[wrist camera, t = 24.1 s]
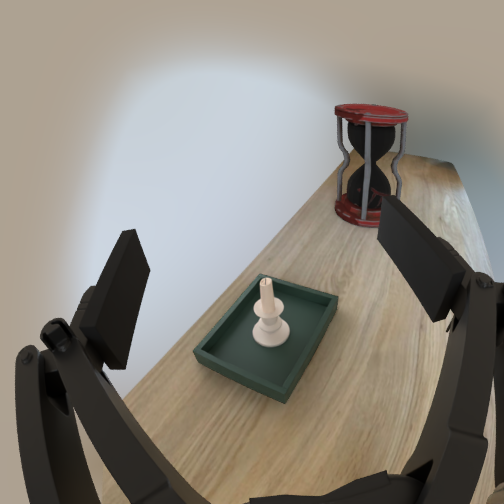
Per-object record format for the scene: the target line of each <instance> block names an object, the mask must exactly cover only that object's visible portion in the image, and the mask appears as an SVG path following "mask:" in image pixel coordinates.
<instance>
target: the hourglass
mask: <svg viewBox="0 0 504 504" xmlns="http://www.w3.org/2000/svg"><path fill="white" fill-rule="evenodd" d="M335 115H337V135H338V136H337V138H338V145H339V148H340V149H341V151H342V152H343V155H344V163H343V165H342V166H341V168H340V169H339V171H338V183H337V199H336V202H335V211H336V213H337V215H338V216H340V217H341V218H342V219H343V220H345V221H347V222H349V223H351V224H354V225H358V226H362V227H371V228H376V227H379V222H380V213H381V205H382V196H390V195H391V187H390V184H389V181H388V179H387V177H386V176H385V174H384V173H383V172H382V171H381V170H380V168H379V167H378V166H377V165H376V161H377V160H379V159H380V158H381V157H382V156H384V155H385V154H386V153H387V152H388V151H389V150H390V148H391V147H392V145H393V143H394V140H395V127H394V126H395V125H397V124H398V123H401V140H400V151H399V153H398V155H397V156H396V157H395V158H393V161H392V163H391V169H392V173H393V174H394V176H395V177H396V180H397V188H396V197H397V198H398V199H399V200H400V195H401V187H402V181H401V177H400V176H399V174H398V172H397V164H398V161H399V159H400V158H401V157H403V155H404V152H405V142H406V122H407V121H408V113H407V112H405V111H402V110H399V109H396V108H391V107H386V106H379V105H374V104H372V105H369V104H344V105H338V106H335ZM342 118H345V119H346V120H347V121H349V122H348V138H349V140H350V143H351V145H352V146H353V147H354V149H355V150H356V151H357V152H358V153H359V154H360V155H361V157H362V158H363V159H364V160H365V164H363V165H362V166H361V167H360V168H359V169H357V170H356V171H355V172H354V173H353V174H352V175H351V177H350V179H349V180H348V184H347V193H345V194H343V195H342V174H343V172H344V170H345V169H346V168H347V167H348V166H349V162H350V157H349V153H348V151H347V150H346V149H345V148H344V145H343V143H342V142H343V139H342Z"/></svg>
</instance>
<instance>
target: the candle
mask: <svg viewBox="0 0 504 504" xmlns="http://www.w3.org/2000/svg"><path fill="white" fill-rule="evenodd" d="M260 295H261V299H260V300H258V301H257V302H256V303H255V305H254V312H255V314H256V315H257V316H259V317H261V318H260V319H259V322H257V324H256V325H255V326H254V328H253V338H254V339H255V341H256V342H257V343H258V344H260V345H262V346H265V347H276V346H279V345H281V344H283V343H284V342H285V341H286V340H287V339H288V337H289V334H290V329H289V326H288V324H287V323H286V322H285V321H284V320H282V319H281V318H280V317H279V315H280V314H281V313H282V311H283V309H284V305H283V303H282V301H281V300H279V299H278V298H275V297H274V294H273V286H272V279H271V278H264V279H262V280H261V281H260Z"/></svg>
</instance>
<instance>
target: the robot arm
mask: <svg viewBox="0 0 504 504" xmlns="http://www.w3.org/2000/svg"><path fill="white" fill-rule="evenodd" d="M377 240H378V241H379V242H380V244H381V245H382V246H383V248H384V249H385V251H386V252H387V253H388V255H389V256H390V258H391V259H392V260H393V262H394V263H395V265H396V266H397V268H398V269H399V271H400V272H401V273H402V275H403V276H404V278H405V279H406V281H407V282H408V284H409V285H410V287H411V288H412V290H413V291H414V293H415V295H416V296H417V298H418V299H419V301H420V302H421V304H422V306H423V307H424V309H425V310H426V312H427V314H428V315H429V317H430V319H431V320H432V322H433V323H434V322H437V321H440V320H443V319H446V317H447V315H448V313H449V311H450V309H451V310H452V312H453V313H454V316H453V318H452V320H451V322H450V324H449V326H448V328H447V330H446V332H448V331H449V329H450V332H449V337H448V342H447V347H446V352H445V356H444V361H443V365H442V369H441V373H440V377H439V381H438V384H437V388H436V391H435V395H434V398H433V401H432V405H431V408H430V411H429V414H428V417H427V420H426V422H425V425H424V428H423V431H422V433H421V436H420V439H419V441H418V444H417V446H416V449H415V451H414V453H413V454H412V456H411V457H410V459H409V460H408V461H407V463H406V465H405V466H404V468H403V470H402V472H401V474H400V475H398V474H387V470H385V471H382V472H379V473H376V474H373V475H370V476H367V477H363V478H360V479H356V480H354V481H352V482H350V483H348V484H346V485H344V486H342V487H340V488H338V489H336V490H334V491H332V492H330V493H328V494H326V495H323V496H299V495H277V496H268V497H258V498H249V500H250V502H247V503H244V504H470V502H471V499H472V496H473V494H474V491H475V488H476V485H477V483H478V480H479V477H480V473H481V470H482V467H483V464H484V460H485V457H486V453H487V449H488V440H487V439H486V438H485V437H484V436H483V432H484V427H485V422H486V417H487V412H488V407H489V401H490V395H491V388H492V381H493V377H494V388H495V404H496V449H495V470H494V474H495V490H494V492H493V494H491V495H490V496H489V497H488V499H487V502H486V504H504V283H497V282H494V281H493V279H492V278H491V277H490V276H488V275H487V274H485V273H481V272H474V270H473V269H472V268H471V267H470V266H469V265H468V263H467V262H466V261H465V260H464V259H463V258H462V257H461V256H459V253H458V252H457V251H456V250H454V248H453V247H452V246H451V245H450V244H449V242H447V241H445V240H444V239H442V238H441V237H436V236H435V235H434V234H433V233H432V232H431V231H430V230H429V229H428V228H427V227H426V226H425V225H424V224H423V222H422V221H421V220H420V219H419V218H418V217H417V216H416V215H414V214H413V213H412V212H411V211H410V210H409V209H408V208H407V207H406V206H405V205H404V204H403V203H402V202H401V201H400V200H399V199H398V198H397V197H396V196H395V195H390V196H382V205H381V213H380V222H379V229H378V236H377ZM149 273H150V268H149V266H148V263H147V260H146V257H145V255H144V252H143V249H142V247H141V244H140V241H139V238H138V235H137V233H136V230H135V229H131V230H126V231H122V233H121V235H120V237H119V239H118V241H117V243H116V244H115V246H114V248H113V250H112V252H111V255H110V257H109V259H108V261H107V263H106V265H105V267H104V269H103V271H102V273H101V275H100V278H99V280H98V282H97V284H96V286H90V287H89V289H88V290H87V291H86V292H85V293H84V294H83V296H82V299H81V301H80V304H79V305H78V308H77V311H76V312H75V315H74V317H73V319H72V322H71V324H70V326H69V325H68V324H67V322H66V321H65V320H64V319H62V318H55V319H53V320H51V321H49V322H48V323H47V324H46V325H45V326H44V328H43V329H42V331H41V334H40V339H41V340H42V341H43V343H44V344H45V345H46V346H47V348H48V349H47V350H44V351H41V352H39V350H38V349H37V348H36V347H35V346H34V345H28V346H26V347H24V348H23V349H22V350H21V351H20V352H19V353H18V356H17V358H16V366H15V367H16V368H15V400H16V401H15V402H16V420H17V433H18V442H19V450H20V457H21V463H22V469H23V475H24V480H25V485H26V489H27V494H28V498H29V502H30V504H101V503H100V500H99V498H98V495H97V492H96V489H95V486H94V484H93V481H92V478H91V475H90V471H89V469H88V465H87V462H86V458H85V455H84V451H83V448H82V444H81V440H80V436H79V432H78V427H77V423H76V418H75V414H74V409H75V411H76V413H77V415H78V417H79V419H80V421H81V423H82V425H83V427H84V429H85V431H86V433H87V435H88V436H89V438H90V440H91V442H92V444H93V445H94V447H95V449H96V451H97V452H98V454H99V456H100V457H101V459H102V461H103V462H104V464H105V466H106V467H107V469H108V470H109V472H110V473H111V475H112V476H113V478H114V479H115V481H116V482H117V484H118V485H119V487H120V488H121V490H122V491H123V492H124V494H125V495H126V497H127V498H128V499H129V501H130V503H131V504H211V503H210V502H208V501H207V500H206V499H205V498H204V497H202V496H201V495H200V494H198V493H197V492H196V491H195V490H194V489H193V488H192V487H191V486H190V485H189V484H188V482H187V481H186V480H185V479H184V478H183V477H182V476H181V475H180V474H179V473H178V472H177V470H176V469H175V468H174V467H173V466H172V465H171V464H170V462H169V461H168V460H167V459H166V458H165V457H164V455H163V454H162V453H161V452H160V451H159V449H158V448H157V447H156V446H155V444H154V443H153V442H152V441H151V439H150V438H149V437H148V435H147V434H146V433H145V431H144V430H143V429H142V427H141V426H140V425H139V423H138V422H137V421H136V419H135V418H134V416H133V415H132V414H131V412H130V411H129V409H128V408H127V406H126V405H125V403H124V402H123V400H122V399H121V397H120V396H119V395H118V393H117V391H116V390H115V388H114V387H113V385H112V383H111V382H110V380H109V378H108V377H107V376H106V374H105V372H104V371H103V370H102V367H103V364H104V362H105V364H106V365H107V366H108V367H109V369H111V370H114V369H115V370H125V369H126V365H127V360H128V356H129V351H130V347H131V342H132V338H133V334H134V330H135V325H136V321H137V317H138V314H139V310H140V305H141V302H142V298H143V294H144V291H145V287H146V283H147V280H148V277H149ZM73 407H74V409H73Z"/></svg>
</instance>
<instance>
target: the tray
mask: <svg viewBox="0 0 504 504" xmlns="http://www.w3.org/2000/svg"><path fill="white" fill-rule="evenodd" d="M264 278H271V279H272V286H273V294H274V297H275V298H278V299H279V300H281V301H282V303H283V305H284V309H283V311H282V313H281V314H280V315H279V317H280V318H281V319H282V320H284V321H285V322H286V323H287V324H288V326H289V329H290V334H289V337H288V339H287V340H286V341H285V342H284V343H283V344H281V345H279V346H276V347H265V346H262V345H260V344H258V343H257V342H256V341H255V339H254V338H253V328H254V326H255V325H256V324H257V322H259V319H260V318H261V317H259V316H257V315H256V314H255V312H254V305H255V303H256V302H257V301H258V300H260V299H261V295H260V281H261V280H262V279H264ZM337 305H338V296H335V295H331V294H328V293H324V292H321V291H317V290H314V289H311V288H307V287H304V286H300V285H297V284H294V283H290V282H287V281H283V280H280V279H277V278H273V277H270V276H267V275H263V274H259V275H258V276H257V277H256V278H255V280H254V281H253V282H252V283H251V284H250V285H249V287H248V288H247V289H246V290H245V291H244V292H243V294H242V295H241V296H240V297H239V298H238V299H237V301H236V302H235V303H234V304H233V305H232V306H231V308H230V309H229V310H228V311H227V312H226V313H225V315H224V316H223V317H222V318H221V319H220V320H219V322H218V323H217V324H216V325H215V326H214V327H213V328H212V330H211V331H210V332H209V333H208V334H207V335H206V336H205V338H204V339H203V340H202V341H201V342H200V343H199V344H198V346H197V347H196V348H195V349H194V350H193V352H194V355H195V357H196V359H197V361H198V362H199V363H201V364H202V365H204V366H206V367H208V368H210V369H212V370H214V371H216V372H218V373H220V374H222V375H224V376H226V377H228V378H230V379H232V380H234V381H236V382H238V383H240V384H242V385H244V386H246V387H248V388H250V389H253V390H255V391H257V392H259V393H261V394H263V395H266V396H268V397H270V398H273V399H275V400H277V401H279V402H282V403H284V404H285V403H286V402H287V400H288V399H289V397H290V395H291V394H292V392H293V390H294V388H295V387H296V385H297V383H298V382H299V380H300V378H301V376H302V375H303V373H304V371H305V369H306V367H307V366H308V364H309V362H310V360H311V358H312V357H313V355H314V353H315V351H316V349H317V347H318V345H319V344H320V342H321V340H322V338H323V336H324V334H325V332H326V330H327V328H328V326H329V324H330V322H331V320H332V318H333V316H334V314H335V312H336V310H337Z"/></svg>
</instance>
